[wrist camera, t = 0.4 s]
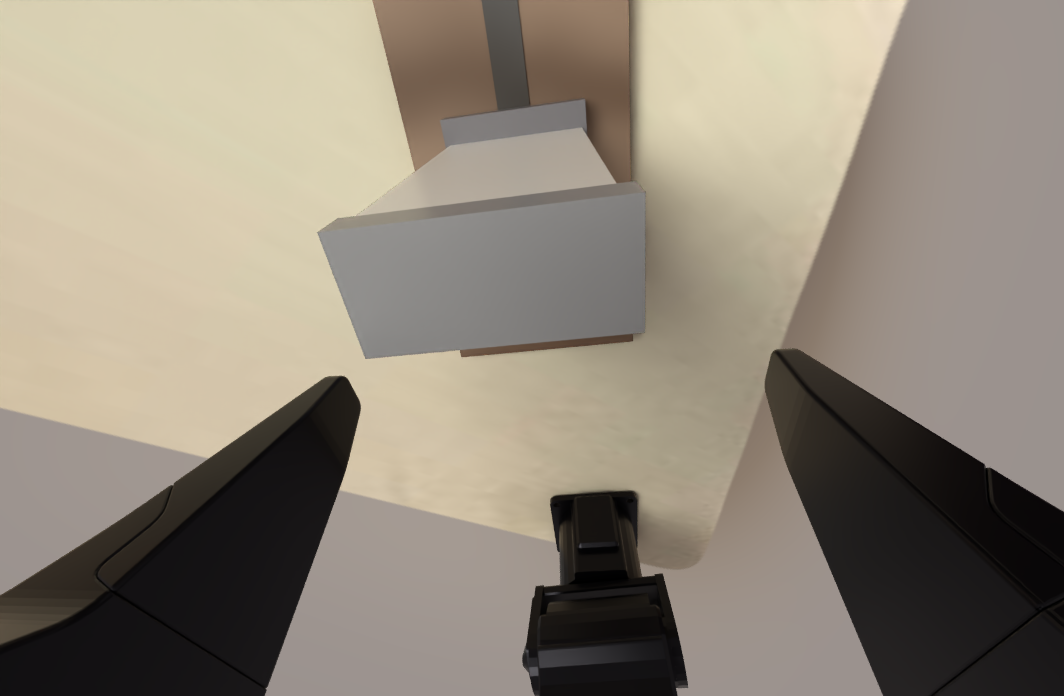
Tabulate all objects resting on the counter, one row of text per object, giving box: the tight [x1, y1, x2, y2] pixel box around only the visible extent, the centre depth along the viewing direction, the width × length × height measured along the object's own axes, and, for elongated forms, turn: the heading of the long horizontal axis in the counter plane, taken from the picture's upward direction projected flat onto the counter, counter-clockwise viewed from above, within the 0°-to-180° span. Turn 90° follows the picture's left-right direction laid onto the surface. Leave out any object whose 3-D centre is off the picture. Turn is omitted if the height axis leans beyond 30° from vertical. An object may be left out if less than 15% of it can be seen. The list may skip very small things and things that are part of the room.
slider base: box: [373, 0, 633, 357], centre depth 19 cm, size 26×10×4 cm, turn 7°
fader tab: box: [317, 98, 645, 359], centre depth 15 cm, size 5×6×13 cm
